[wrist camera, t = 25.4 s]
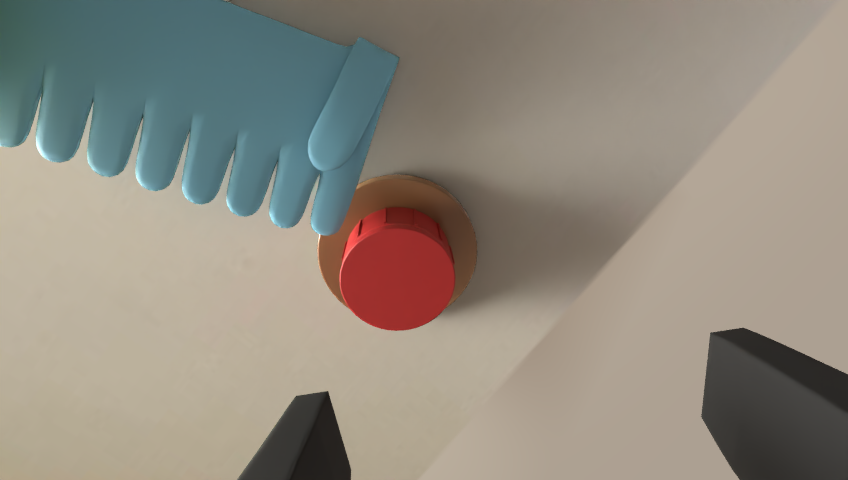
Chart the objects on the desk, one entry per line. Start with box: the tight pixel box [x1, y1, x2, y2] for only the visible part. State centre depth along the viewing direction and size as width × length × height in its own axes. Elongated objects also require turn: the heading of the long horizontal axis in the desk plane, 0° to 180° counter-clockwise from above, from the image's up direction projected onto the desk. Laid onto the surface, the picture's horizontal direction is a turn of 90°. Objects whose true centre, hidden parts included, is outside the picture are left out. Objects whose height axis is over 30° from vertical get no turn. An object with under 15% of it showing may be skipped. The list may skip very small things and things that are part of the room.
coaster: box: [317, 175, 477, 309], centre depth 18 cm, size 6×6×1 cm
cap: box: [339, 207, 455, 331], centre depth 17 cm, size 4×4×2 cm
